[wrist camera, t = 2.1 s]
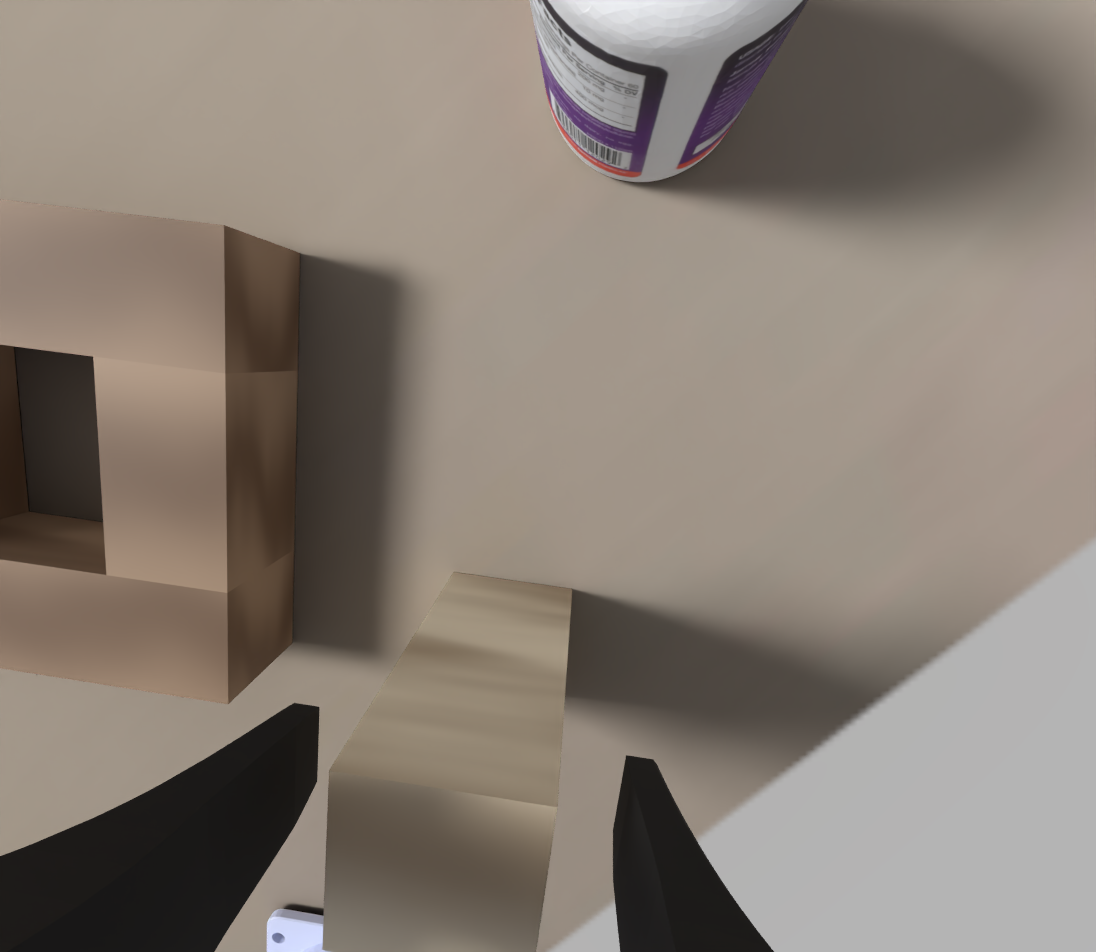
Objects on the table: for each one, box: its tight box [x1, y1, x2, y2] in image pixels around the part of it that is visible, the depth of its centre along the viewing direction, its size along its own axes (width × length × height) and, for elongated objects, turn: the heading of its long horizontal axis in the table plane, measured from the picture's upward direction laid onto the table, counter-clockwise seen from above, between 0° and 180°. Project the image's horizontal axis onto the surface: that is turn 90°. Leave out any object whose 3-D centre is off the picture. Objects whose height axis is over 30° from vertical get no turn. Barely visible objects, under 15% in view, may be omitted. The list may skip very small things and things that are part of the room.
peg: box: [322, 572, 572, 952], centre depth 14 cm, size 4×4×9 cm
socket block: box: [0, 199, 300, 704], centre depth 16 cm, size 13×13×4 cm
